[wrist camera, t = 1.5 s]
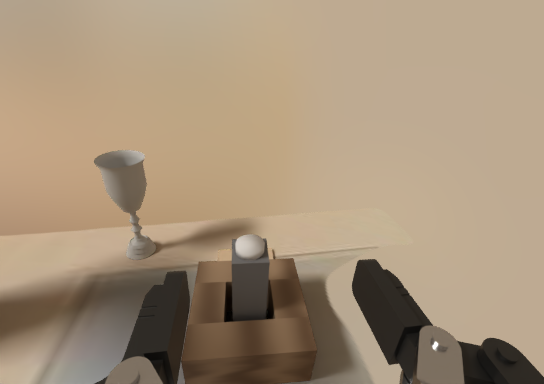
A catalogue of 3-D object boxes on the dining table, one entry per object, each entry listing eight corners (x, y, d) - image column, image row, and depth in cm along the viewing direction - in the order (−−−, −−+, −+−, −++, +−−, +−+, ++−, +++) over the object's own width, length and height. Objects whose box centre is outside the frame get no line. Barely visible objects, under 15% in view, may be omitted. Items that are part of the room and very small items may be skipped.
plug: (233, 344, 34) (231, 256, 27) (233, 316, 38) (232, 232, 31) (264, 342, 35) (270, 255, 28) (261, 315, 38) (266, 231, 31)
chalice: (164, 257, 47) (147, 164, 39) (121, 269, 44) (92, 170, 36) (158, 234, 53) (142, 148, 44) (119, 243, 50) (94, 152, 41)
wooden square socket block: (187, 392, 29) (181, 361, 26) (201, 290, 42) (199, 261, 39) (310, 380, 31) (317, 350, 28) (289, 286, 43) (293, 258, 40)
